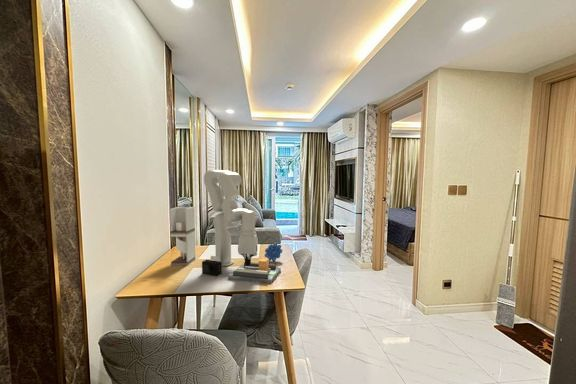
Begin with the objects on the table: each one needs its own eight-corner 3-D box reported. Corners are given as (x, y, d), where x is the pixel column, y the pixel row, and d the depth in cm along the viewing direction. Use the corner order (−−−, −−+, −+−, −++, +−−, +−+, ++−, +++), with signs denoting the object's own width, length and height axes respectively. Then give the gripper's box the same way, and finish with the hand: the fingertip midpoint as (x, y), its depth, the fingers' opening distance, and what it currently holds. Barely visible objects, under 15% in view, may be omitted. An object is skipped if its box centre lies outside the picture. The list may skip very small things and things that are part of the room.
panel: (227, 279, 135) (227, 273, 135) (242, 267, 153) (242, 262, 153) (270, 283, 130) (270, 277, 129) (280, 271, 147) (280, 266, 147)
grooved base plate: (232, 275, 136) (232, 269, 136) (245, 265, 151) (245, 259, 151) (266, 278, 131) (266, 272, 131) (276, 268, 146) (276, 262, 146)
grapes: (282, 258, 171) (282, 241, 170) (282, 262, 164) (282, 243, 163) (264, 259, 170) (264, 241, 169) (264, 262, 163) (264, 243, 163)
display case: (179, 259, 170) (178, 206, 168) (195, 259, 169) (194, 206, 168) (171, 265, 158) (169, 208, 157) (188, 265, 158) (187, 208, 157)
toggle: (257, 272, 138) (257, 260, 138) (260, 269, 143) (260, 258, 143) (267, 273, 137) (267, 261, 136) (270, 270, 142) (270, 258, 141)
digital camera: (200, 274, 143) (200, 262, 142) (207, 271, 148) (206, 259, 147) (215, 277, 138) (215, 264, 138) (221, 273, 143) (221, 261, 143)
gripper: (232, 233, 140) (232, 266, 141) (258, 235, 136) (257, 269, 137) (238, 230, 147) (238, 261, 148) (263, 232, 143) (262, 264, 145)
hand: (247, 265), depth 143 cm, fingers closed
